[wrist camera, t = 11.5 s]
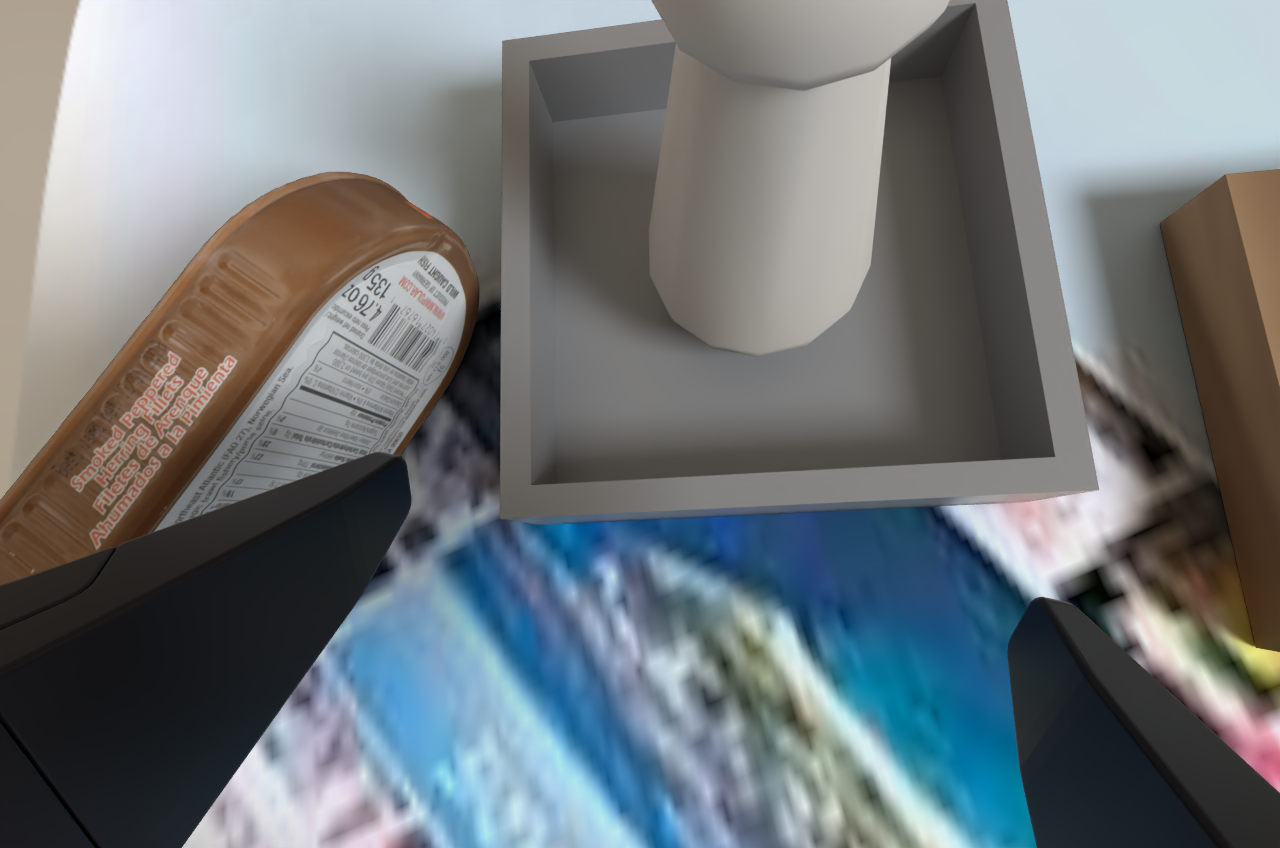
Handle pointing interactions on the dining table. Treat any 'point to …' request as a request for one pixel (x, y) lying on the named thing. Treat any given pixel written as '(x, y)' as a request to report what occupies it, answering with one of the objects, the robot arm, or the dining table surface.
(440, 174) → the dining table surface
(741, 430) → the bin
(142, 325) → the tin
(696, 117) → the salt shaker
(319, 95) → the dining table surface
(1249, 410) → the brown flat square frame
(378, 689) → the dining table surface
